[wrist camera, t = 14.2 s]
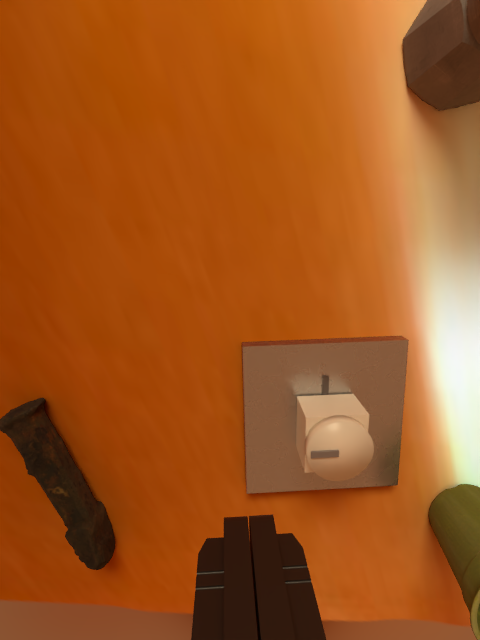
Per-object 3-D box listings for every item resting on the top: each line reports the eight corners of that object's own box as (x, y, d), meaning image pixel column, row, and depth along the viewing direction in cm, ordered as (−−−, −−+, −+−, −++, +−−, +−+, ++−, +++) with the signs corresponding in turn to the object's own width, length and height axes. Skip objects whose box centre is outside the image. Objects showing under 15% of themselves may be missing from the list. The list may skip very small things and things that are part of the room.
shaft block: (391, 476, 40) (414, 509, 35) (246, 484, 39) (249, 518, 34) (400, 335, 36) (428, 350, 31) (241, 342, 36) (244, 358, 31)
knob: (354, 392, 35) (377, 422, 30) (351, 444, 37) (372, 480, 32) (295, 395, 35) (308, 425, 30) (295, 447, 37) (307, 484, 31)
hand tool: (11, 405, 36) (-20, 428, 32) (47, 391, 36) (22, 413, 31) (93, 550, 40) (76, 589, 36) (126, 538, 40) (113, 576, 36)
